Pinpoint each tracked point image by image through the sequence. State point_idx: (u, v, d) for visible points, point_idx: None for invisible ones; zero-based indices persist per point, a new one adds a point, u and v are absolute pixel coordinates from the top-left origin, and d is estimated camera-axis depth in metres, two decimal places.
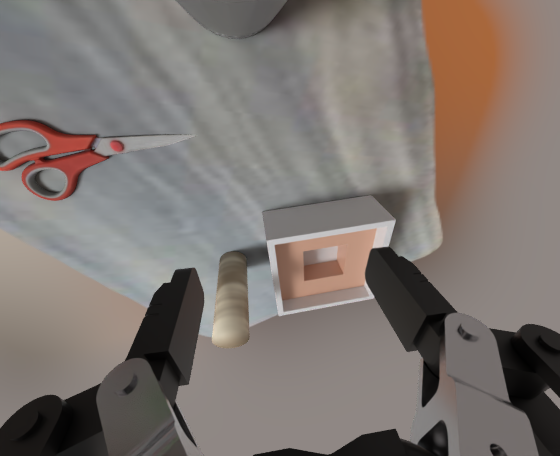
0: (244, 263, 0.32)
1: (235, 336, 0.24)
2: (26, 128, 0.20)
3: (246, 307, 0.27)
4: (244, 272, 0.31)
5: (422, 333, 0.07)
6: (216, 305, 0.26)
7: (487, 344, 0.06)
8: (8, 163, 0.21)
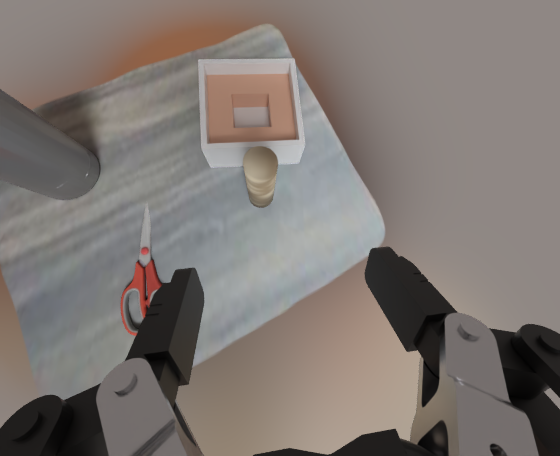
0: None
1: (256, 157, 0.25)
2: (124, 296, 0.32)
3: None
4: None
5: (422, 333, 0.07)
6: (251, 186, 0.29)
7: (487, 344, 0.06)
8: None
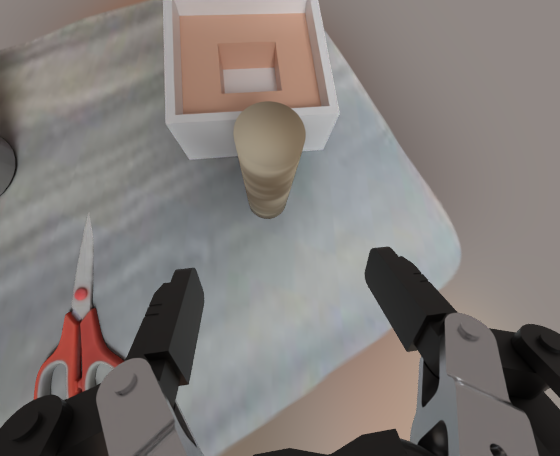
0: None
1: (261, 124, 0.12)
2: (41, 375, 0.19)
3: None
4: None
5: (422, 333, 0.07)
6: (252, 185, 0.15)
7: (487, 344, 0.06)
8: None
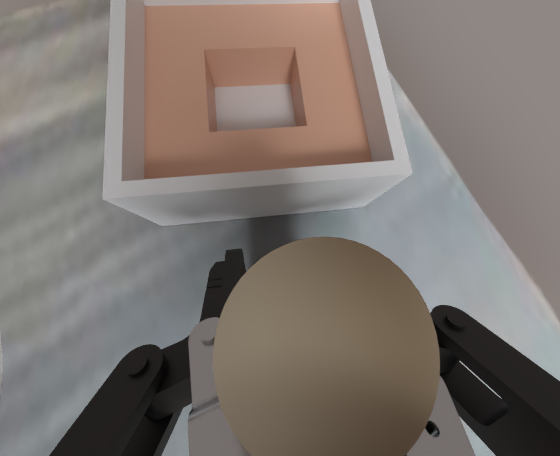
0: None
1: (301, 318, 0.04)
2: None
3: None
4: None
5: None
6: None
7: None
8: None
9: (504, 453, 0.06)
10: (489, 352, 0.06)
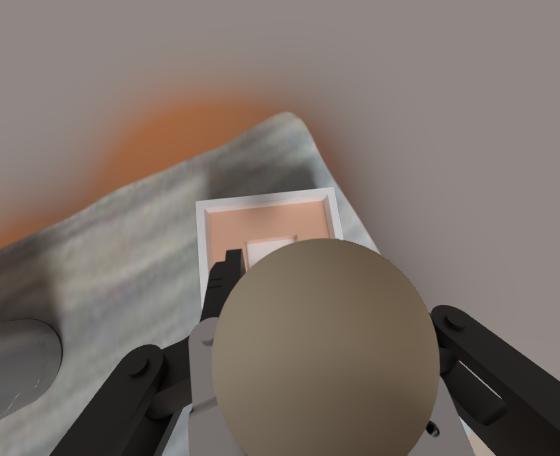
0: None
1: (300, 320, 0.04)
2: None
3: None
4: None
5: None
6: None
7: None
8: None
9: (504, 453, 0.06)
10: (489, 352, 0.06)
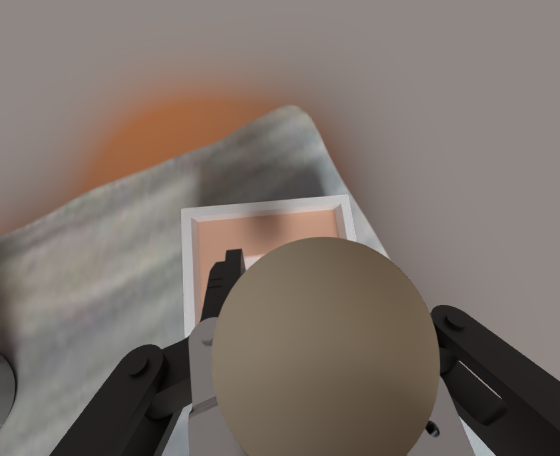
0: None
1: (300, 319, 0.04)
2: None
3: None
4: None
5: None
6: None
7: None
8: None
9: (504, 453, 0.06)
10: (489, 352, 0.06)
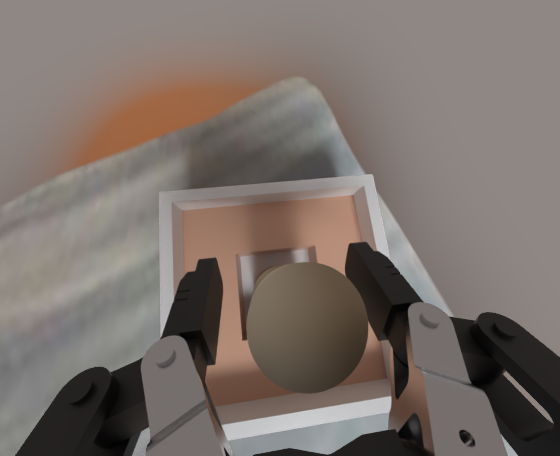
0: (266, 268, 0.17)
1: (293, 307, 0.07)
2: None
3: (275, 267, 0.11)
4: (266, 269, 0.16)
5: (390, 322, 0.08)
6: None
7: (445, 330, 0.06)
8: None
9: None
10: (540, 366, 0.06)
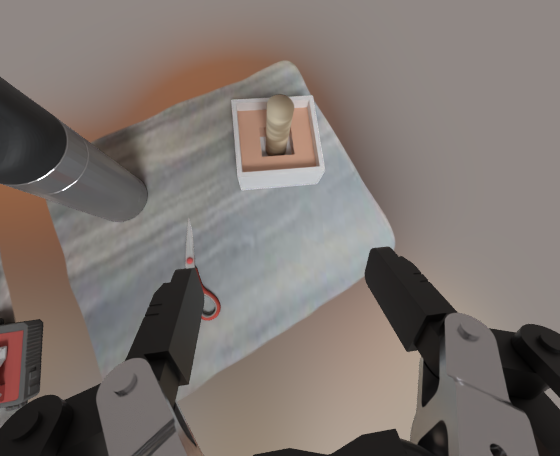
0: None
1: (277, 103, 0.32)
2: None
3: None
4: None
5: (422, 333, 0.07)
6: (272, 132, 0.35)
7: (487, 344, 0.06)
8: None
9: None
10: None
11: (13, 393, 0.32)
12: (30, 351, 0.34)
